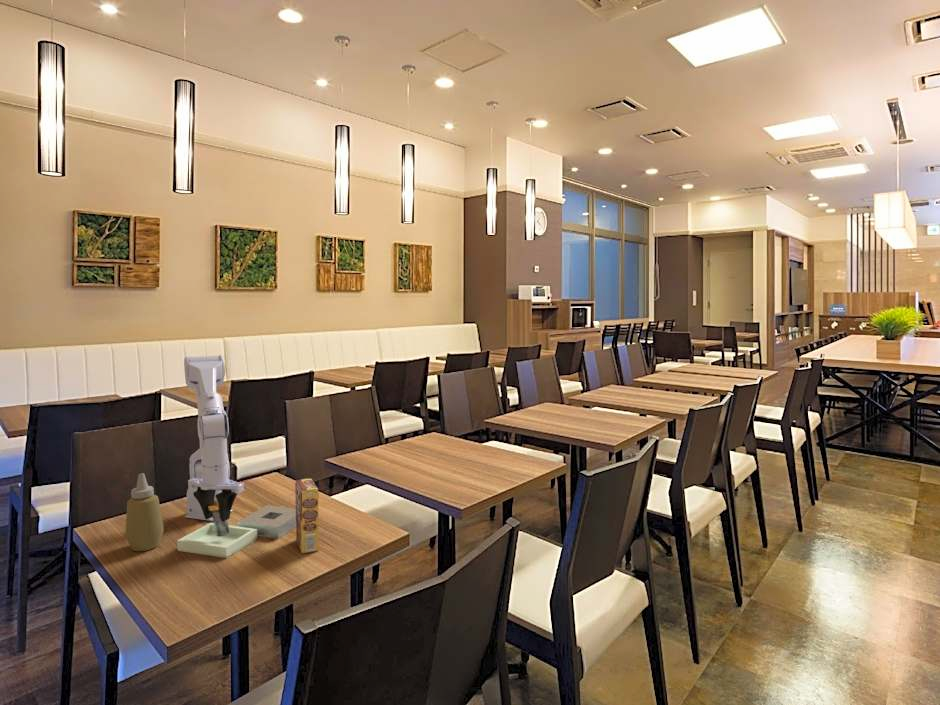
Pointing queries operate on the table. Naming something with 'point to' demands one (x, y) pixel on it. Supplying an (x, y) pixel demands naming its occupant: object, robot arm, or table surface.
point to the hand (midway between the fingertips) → (217, 518)
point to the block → (271, 521)
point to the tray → (217, 541)
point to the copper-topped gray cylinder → (218, 519)
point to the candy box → (307, 515)
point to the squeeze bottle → (143, 517)
